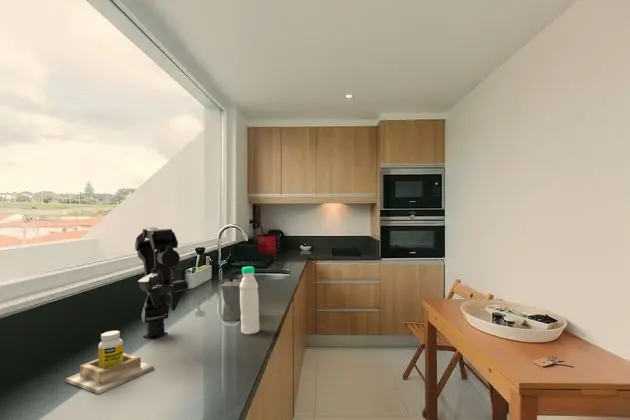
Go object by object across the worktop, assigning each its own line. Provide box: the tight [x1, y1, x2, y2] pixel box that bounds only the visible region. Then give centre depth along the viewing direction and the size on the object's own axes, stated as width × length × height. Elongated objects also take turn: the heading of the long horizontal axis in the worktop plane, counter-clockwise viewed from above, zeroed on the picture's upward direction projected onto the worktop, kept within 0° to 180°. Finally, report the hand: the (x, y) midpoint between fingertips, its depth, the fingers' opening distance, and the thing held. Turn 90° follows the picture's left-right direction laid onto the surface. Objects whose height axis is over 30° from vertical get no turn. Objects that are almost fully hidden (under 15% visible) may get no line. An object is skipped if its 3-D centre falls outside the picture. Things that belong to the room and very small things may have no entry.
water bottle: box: [239, 265, 261, 335], centre depth 134 cm, size 7×7×25 cm
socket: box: [65, 352, 155, 395], centre depth 100 cm, size 16×16×4 cm
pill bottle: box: [97, 330, 124, 369], centre depth 100 cm, size 6×6×11 cm
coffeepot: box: [220, 276, 242, 322], centre depth 155 cm, size 15×9×18 cm, turn 44°
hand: (164, 309), depth 122 cm, fingers open, 9 cm apart
